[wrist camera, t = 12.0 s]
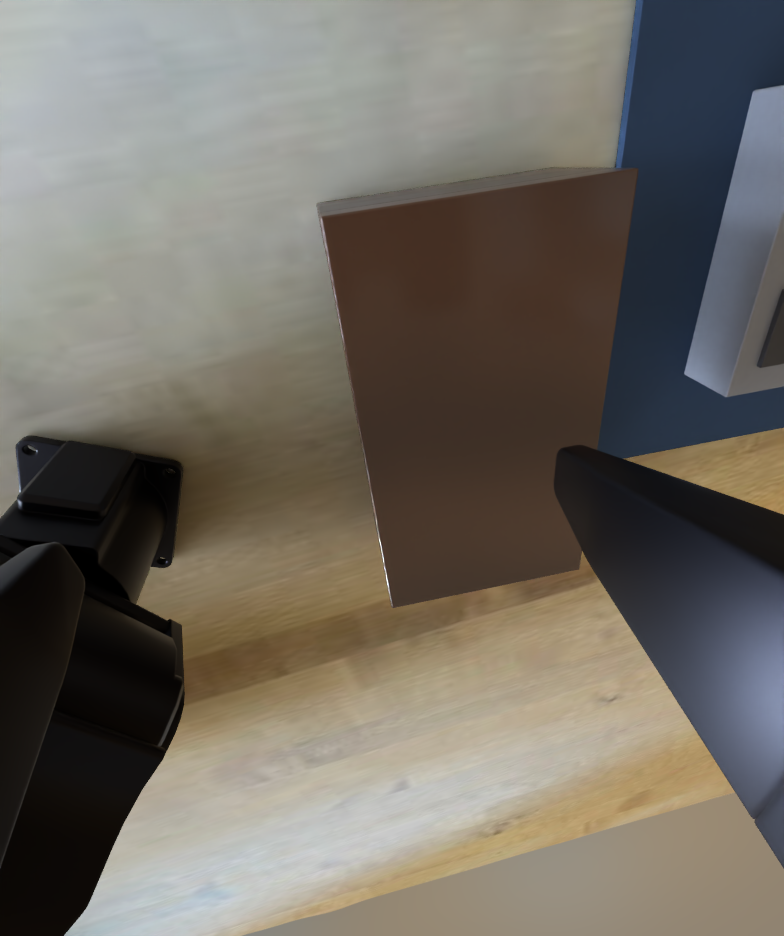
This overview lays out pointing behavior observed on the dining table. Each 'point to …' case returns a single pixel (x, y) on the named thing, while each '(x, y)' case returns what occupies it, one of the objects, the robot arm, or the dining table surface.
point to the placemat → (682, 214)
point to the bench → (477, 363)
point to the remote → (747, 265)
